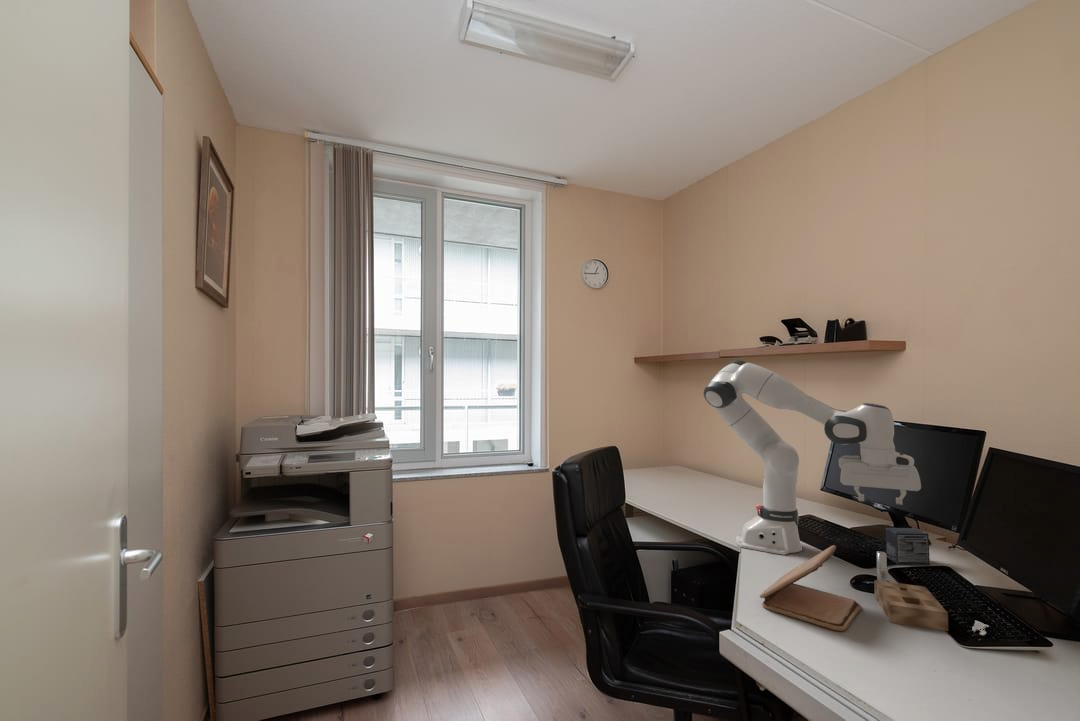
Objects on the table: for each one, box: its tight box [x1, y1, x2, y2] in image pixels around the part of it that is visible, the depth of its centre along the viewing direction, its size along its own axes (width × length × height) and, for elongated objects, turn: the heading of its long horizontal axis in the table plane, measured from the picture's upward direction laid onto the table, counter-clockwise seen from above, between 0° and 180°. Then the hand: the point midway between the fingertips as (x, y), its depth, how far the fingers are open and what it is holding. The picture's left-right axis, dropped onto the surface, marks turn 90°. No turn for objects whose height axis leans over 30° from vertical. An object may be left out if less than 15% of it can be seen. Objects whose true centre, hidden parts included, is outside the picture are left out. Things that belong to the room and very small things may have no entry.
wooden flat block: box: [873, 579, 949, 632], centre depth 131 cm, size 12×16×4 cm
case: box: [759, 544, 862, 632], centre depth 135 cm, size 20×21×16 cm
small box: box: [885, 527, 931, 566], centre depth 166 cm, size 11×6×10 cm, turn 84°
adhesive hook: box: [971, 620, 990, 636], centre depth 120 cm, size 3×3×3 cm
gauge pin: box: [876, 550, 888, 582], centre depth 144 cm, size 2×2×11 cm
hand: (880, 502), depth 149 cm, fingers open, 8 cm apart
